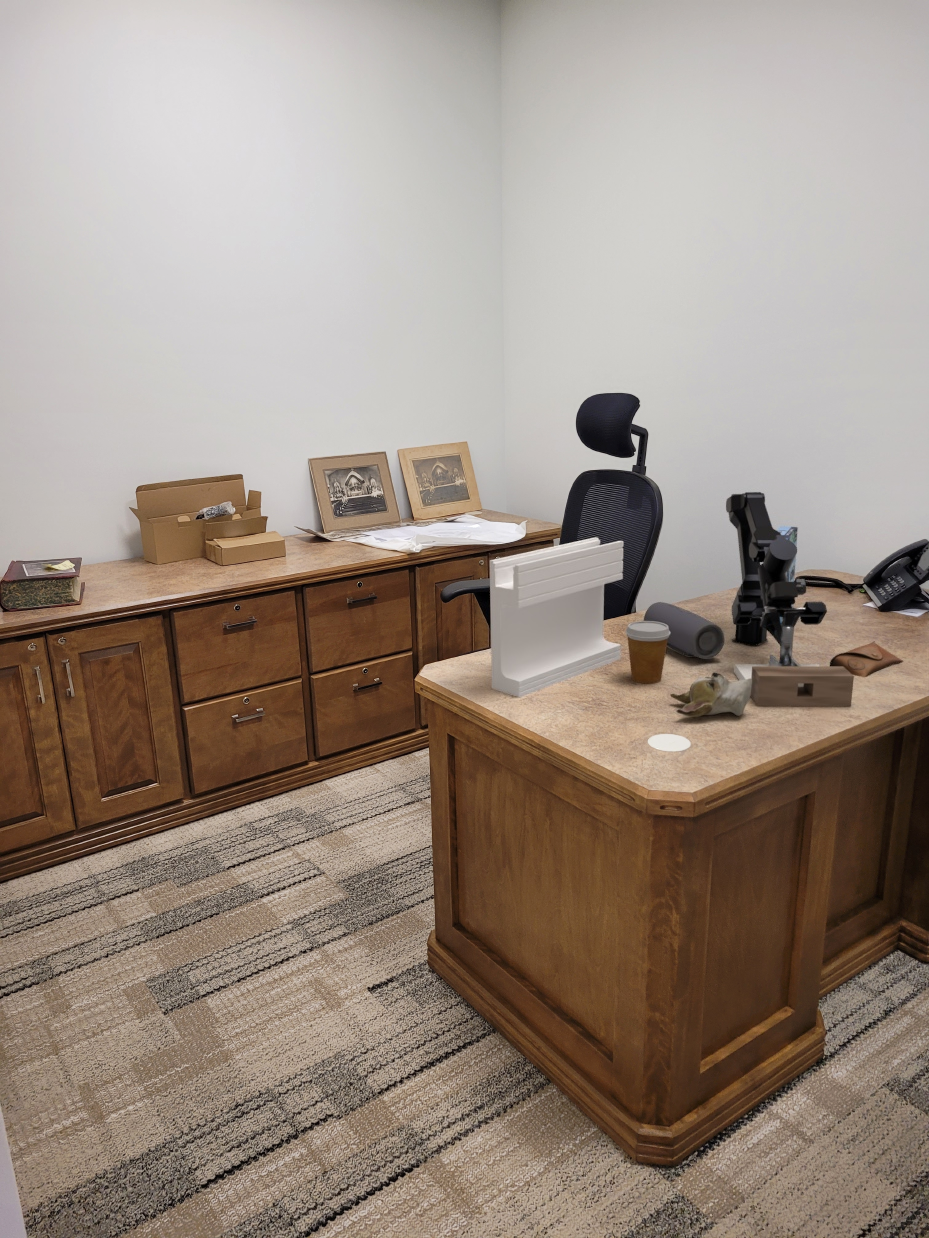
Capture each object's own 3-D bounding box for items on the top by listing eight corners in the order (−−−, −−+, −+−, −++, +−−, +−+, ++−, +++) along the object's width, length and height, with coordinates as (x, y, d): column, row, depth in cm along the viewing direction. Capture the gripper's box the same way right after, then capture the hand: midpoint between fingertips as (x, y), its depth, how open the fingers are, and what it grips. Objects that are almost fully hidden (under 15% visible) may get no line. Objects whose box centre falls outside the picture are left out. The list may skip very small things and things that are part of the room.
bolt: (777, 669, 187) (780, 624, 184) (788, 669, 187) (792, 624, 184) (788, 682, 179) (791, 635, 176) (800, 682, 179) (803, 635, 176)
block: (593, 652, 210) (595, 537, 203) (620, 659, 205) (623, 541, 197) (491, 688, 187) (489, 560, 180) (519, 697, 181) (518, 565, 174)
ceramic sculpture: (758, 679, 162) (676, 683, 164) (758, 723, 164) (677, 726, 166) (746, 662, 172) (669, 666, 174) (746, 703, 174) (670, 707, 176)
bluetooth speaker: (640, 640, 219) (641, 601, 216) (673, 636, 221) (674, 598, 219) (690, 666, 198) (692, 624, 195) (725, 661, 201) (727, 620, 198)
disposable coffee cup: (670, 673, 193) (672, 621, 190) (665, 688, 185) (667, 633, 181) (627, 670, 196) (629, 619, 193) (620, 684, 188) (622, 630, 184)
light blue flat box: (782, 624, 230) (789, 538, 224) (762, 622, 232) (768, 537, 226) (793, 607, 246) (799, 526, 240) (774, 605, 249) (780, 525, 243)
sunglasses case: (866, 678, 187) (853, 649, 188) (837, 686, 193) (825, 658, 194) (905, 660, 198) (893, 633, 199) (877, 669, 204) (866, 642, 205)
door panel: (734, 672, 193) (735, 652, 192) (817, 672, 191) (819, 652, 190) (746, 689, 182) (747, 668, 181) (834, 689, 181) (836, 667, 180)
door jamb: (750, 695, 179) (752, 666, 177) (840, 695, 178) (843, 666, 176) (757, 706, 173) (759, 676, 171) (850, 706, 172) (853, 676, 170)
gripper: (738, 565, 187) (747, 629, 179) (827, 565, 186) (841, 628, 178) (728, 593, 197) (737, 654, 189) (813, 592, 195) (825, 654, 188)
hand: (784, 647), depth 186 cm, fingers closed, pressing on bolt
